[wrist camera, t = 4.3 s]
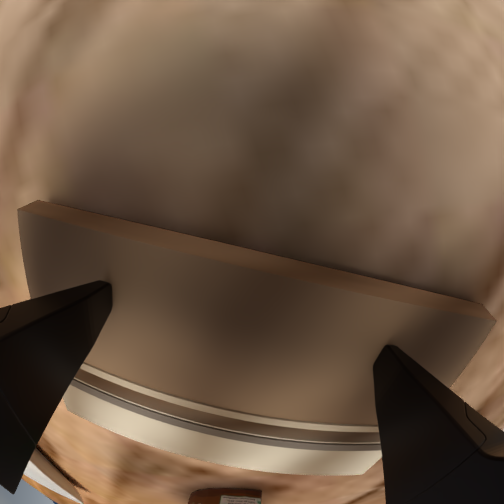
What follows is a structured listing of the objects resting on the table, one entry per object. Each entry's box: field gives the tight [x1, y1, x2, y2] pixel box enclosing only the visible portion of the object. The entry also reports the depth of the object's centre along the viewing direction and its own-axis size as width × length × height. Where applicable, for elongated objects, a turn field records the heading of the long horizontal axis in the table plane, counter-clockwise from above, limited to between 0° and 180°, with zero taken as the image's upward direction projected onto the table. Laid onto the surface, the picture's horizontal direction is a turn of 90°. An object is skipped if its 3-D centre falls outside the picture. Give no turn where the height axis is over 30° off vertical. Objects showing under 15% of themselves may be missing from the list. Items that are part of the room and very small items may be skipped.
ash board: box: [63, 369, 382, 475], centre depth 12 cm, size 18×4×1 cm, turn 78°
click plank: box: [17, 200, 496, 432], centre depth 9 cm, size 18×7×1 cm, turn 78°
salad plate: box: [23, 448, 84, 504], centre depth 20 cm, size 21×21×3 cm
